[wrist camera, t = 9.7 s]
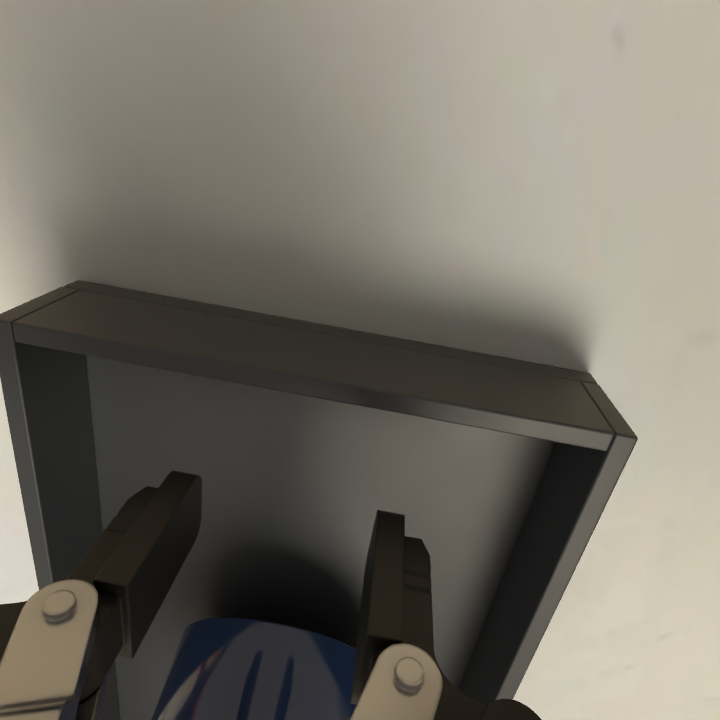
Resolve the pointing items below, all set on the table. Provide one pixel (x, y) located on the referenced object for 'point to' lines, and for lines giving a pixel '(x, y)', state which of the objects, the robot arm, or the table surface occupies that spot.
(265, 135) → the table surface
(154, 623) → the tray
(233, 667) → the blue saucepan
